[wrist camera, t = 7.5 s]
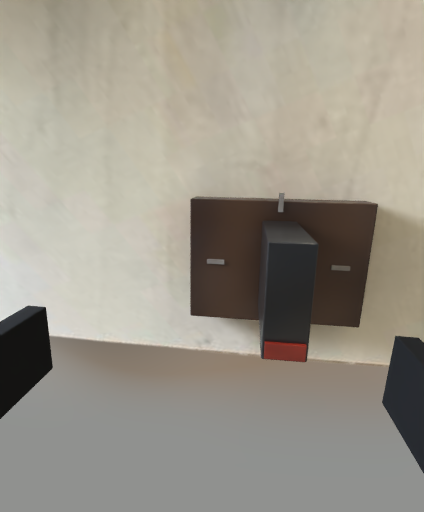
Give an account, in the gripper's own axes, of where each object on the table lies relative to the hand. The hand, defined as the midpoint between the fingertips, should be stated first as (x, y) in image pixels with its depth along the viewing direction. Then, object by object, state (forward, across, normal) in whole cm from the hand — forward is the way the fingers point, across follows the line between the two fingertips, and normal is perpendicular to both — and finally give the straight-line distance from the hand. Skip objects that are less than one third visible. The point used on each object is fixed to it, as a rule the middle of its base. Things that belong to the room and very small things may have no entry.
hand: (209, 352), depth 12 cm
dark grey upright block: (+14, +4, 0) cm, 14 cm away
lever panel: (+16, +4, 0) cm, 17 cm away
